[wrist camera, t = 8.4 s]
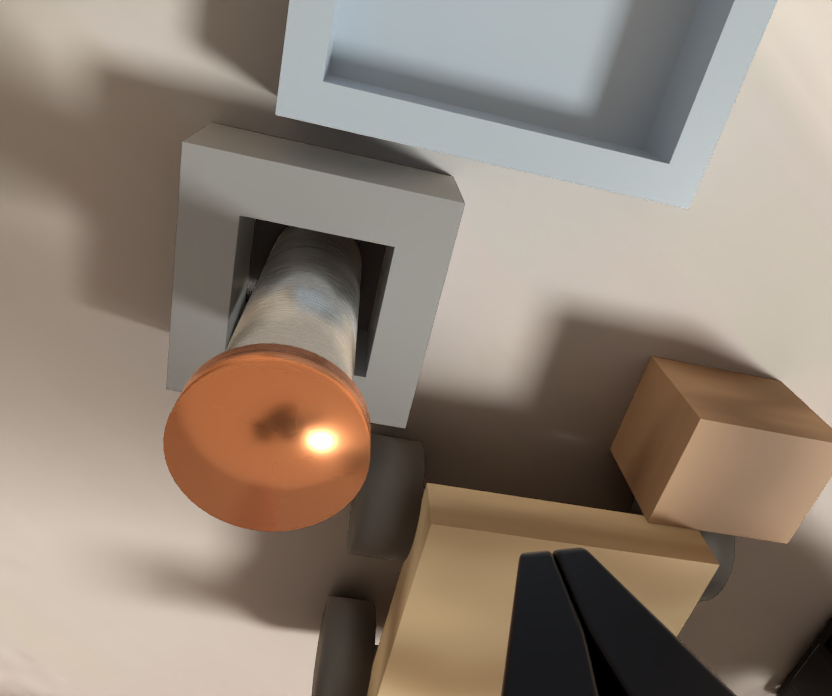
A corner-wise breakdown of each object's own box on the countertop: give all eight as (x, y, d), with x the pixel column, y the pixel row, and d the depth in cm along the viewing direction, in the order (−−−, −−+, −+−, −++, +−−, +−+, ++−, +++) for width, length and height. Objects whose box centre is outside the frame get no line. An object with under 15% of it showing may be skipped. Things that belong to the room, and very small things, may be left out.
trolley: (370, 410, 23) (365, 638, 14) (697, 465, 25) (858, 694, 16) (317, 640, 28) (290, 903, 20) (589, 671, 30) (669, 923, 22)
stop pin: (385, 219, 20) (388, 385, 11) (362, 325, 21) (350, 543, 13) (265, 194, 19) (169, 347, 10) (251, 304, 21) (158, 516, 12)
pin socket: (453, 176, 19) (465, 203, 16) (402, 378, 22) (405, 428, 20) (211, 122, 18) (182, 141, 15) (193, 341, 21) (165, 389, 18)
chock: (779, 379, 23) (851, 446, 20) (729, 468, 25) (787, 543, 21) (650, 354, 22) (700, 419, 19) (608, 447, 24) (647, 522, 21)
